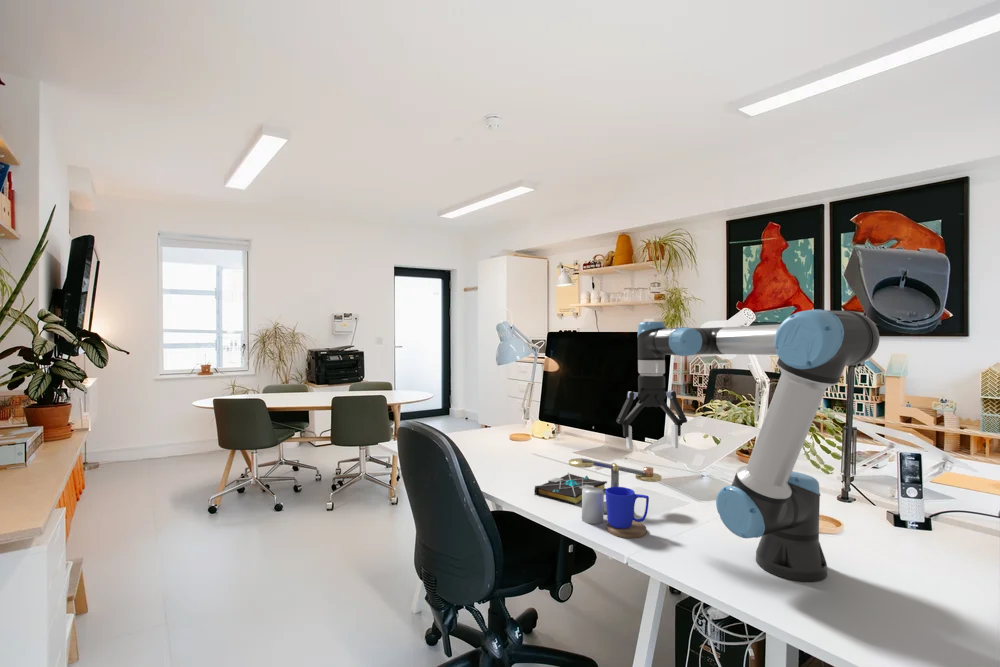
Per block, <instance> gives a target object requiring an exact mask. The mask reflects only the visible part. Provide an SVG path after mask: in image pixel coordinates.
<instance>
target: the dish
mask: <svg viewBox="0 0 1000 667" xmlns="http://www.w3.org/2000/svg"><path fill="white" fill-rule="evenodd" d="M606 531H607V532H608V533H609V534H610V535H612V536H614V537H618V538H624V539H638V538H643V537H644V536H646V535H647V526H646V525H645V524H644V523H643V522H636V521H634V520H633V521H632V525H631V526H630V527H629V528H626V529H618V528H614V527H612V526H610V525H609V523H608V522H606Z"/></svg>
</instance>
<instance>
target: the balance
mask: <svg viewBox="0 0 1000 667" xmlns="http://www.w3.org/2000/svg"><path fill="white" fill-rule="evenodd" d="M568 465H569V466H571V467H574V468H579V469H580V468H583V469H584V468H591V467H594V466H595V467H600V468H603V469H604V468H605V469H610V487H620V486H619V484H620V483H619V482H620V476H619V475H620V474H619V473H620V472H624V473H629V474H633V475H635V477H634V478H635V479H636V480H638V481H642V482H648V483H657V482H660V481H662V475H660V474H659V473H655V472H654V467H652V466H644V467H643V470H641V469H636V468H631V467H625V466H620V465H618V464H617V463H616V462H612V463H606V462H602V461H596V460H593V459H589V458H580V457H579V458H571V459H569V460H568ZM604 515H607V506H606V501H604Z"/></svg>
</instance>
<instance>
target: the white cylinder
mask: <svg viewBox="0 0 1000 667" xmlns="http://www.w3.org/2000/svg"><path fill="white" fill-rule="evenodd" d="M604 492H605V490H604V491H603V490H602V489H600V488H596V487H586V488H583V489H582V501H581V521H582V522H584V523H586V524H588V525H599V524H602V523H604V517H605V516H604V515H605V514H604V502H605V501H604V500H605V499H604V497H605V494H604Z"/></svg>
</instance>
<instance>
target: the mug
mask: <svg viewBox="0 0 1000 667" xmlns="http://www.w3.org/2000/svg"><path fill="white" fill-rule="evenodd" d="M638 498H641V499H645V509H644V513H643V515H642V517H641V518H635V515H634V514H635V507H636V506H635V505H636V501H637V499H638ZM649 500H650V497H649V495H645V494H638V493H635V491H634V490H633V489H631V488H628V487H624V486H619V487H611V486H610V487H607V488H606V490H605V502H606V506H607V514H606V516H607V517H606V519H607V523H609V525H610V526H612V527H614V528H618V529H626V528H629V527H630V526H631V525H632V521H633V520H634V521H636V522H640V523H643V522H644V521H645V520H646V517H647V515H648V510H649V502H650V501H649Z"/></svg>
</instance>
